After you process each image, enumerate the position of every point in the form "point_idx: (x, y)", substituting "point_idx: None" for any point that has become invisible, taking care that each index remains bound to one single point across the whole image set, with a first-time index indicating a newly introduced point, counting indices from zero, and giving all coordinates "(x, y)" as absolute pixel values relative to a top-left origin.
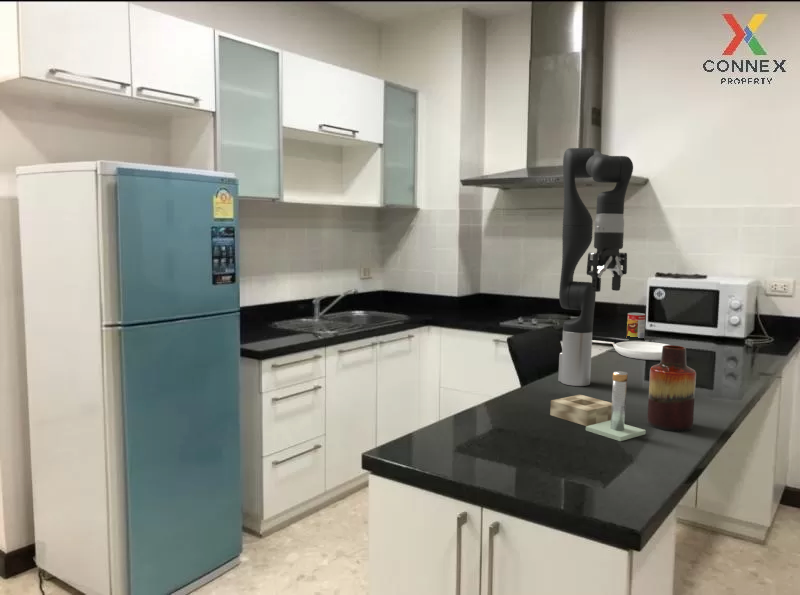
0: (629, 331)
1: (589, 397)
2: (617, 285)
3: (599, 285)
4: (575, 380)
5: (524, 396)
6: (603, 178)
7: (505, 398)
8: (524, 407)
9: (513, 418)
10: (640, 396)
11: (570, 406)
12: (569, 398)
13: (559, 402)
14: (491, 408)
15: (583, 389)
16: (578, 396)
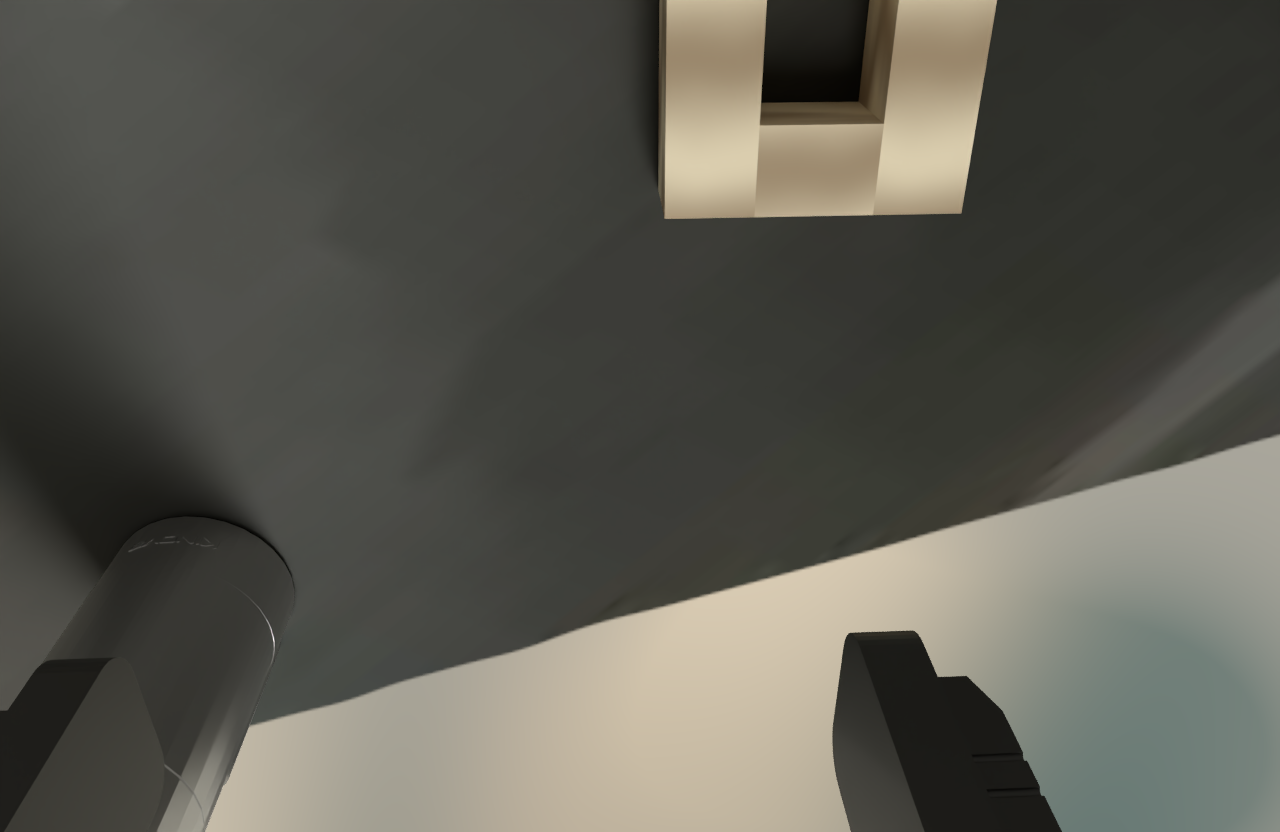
0: None
1: (676, 127)
2: (68, 772)
3: (942, 734)
4: (253, 561)
5: (713, 519)
6: None
7: (833, 536)
8: (905, 370)
9: (1147, 247)
10: (12, 176)
11: (989, 37)
12: (816, 183)
13: (963, 146)
14: (1059, 438)
15: (268, 472)
16: (719, 187)
